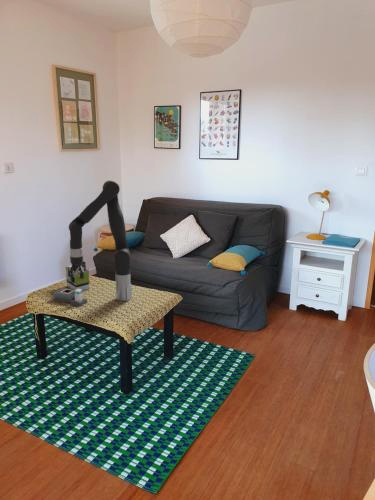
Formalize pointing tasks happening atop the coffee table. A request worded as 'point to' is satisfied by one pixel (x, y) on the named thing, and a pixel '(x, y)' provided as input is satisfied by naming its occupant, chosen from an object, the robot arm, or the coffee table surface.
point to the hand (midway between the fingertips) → (77, 280)
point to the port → (64, 295)
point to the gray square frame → (78, 302)
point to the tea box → (78, 280)
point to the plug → (78, 295)
